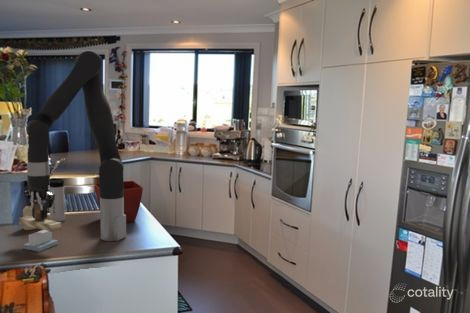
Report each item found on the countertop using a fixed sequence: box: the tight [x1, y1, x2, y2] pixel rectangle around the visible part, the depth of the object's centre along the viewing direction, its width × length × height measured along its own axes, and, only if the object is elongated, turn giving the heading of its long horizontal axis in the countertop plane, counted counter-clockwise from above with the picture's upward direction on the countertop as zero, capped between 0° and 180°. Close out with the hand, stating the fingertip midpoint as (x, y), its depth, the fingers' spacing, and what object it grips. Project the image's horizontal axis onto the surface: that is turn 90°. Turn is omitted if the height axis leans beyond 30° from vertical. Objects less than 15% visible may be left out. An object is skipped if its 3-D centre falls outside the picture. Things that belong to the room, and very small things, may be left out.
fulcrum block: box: [22, 229, 59, 253], centre depth 151 cm, size 8×9×6 cm
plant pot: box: [93, 180, 144, 223], centre depth 189 cm, size 19×19×17 cm
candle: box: [22, 206, 37, 231], centre depth 173 cm, size 6×6×10 cm
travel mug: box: [48, 177, 66, 224], centre depth 183 cm, size 6×7×20 cm
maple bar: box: [18, 203, 62, 233], centre depth 150 cm, size 18×4×9 cm, turn 64°
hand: (39, 218), depth 150 cm, fingers closed on maple bar, 3 cm apart
